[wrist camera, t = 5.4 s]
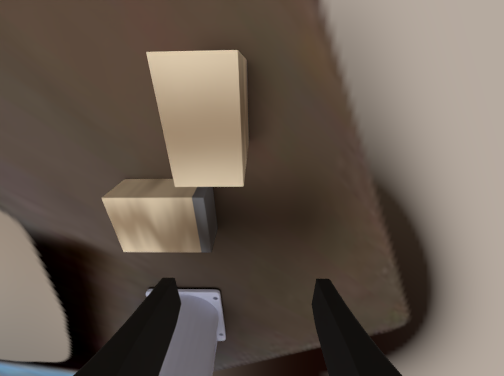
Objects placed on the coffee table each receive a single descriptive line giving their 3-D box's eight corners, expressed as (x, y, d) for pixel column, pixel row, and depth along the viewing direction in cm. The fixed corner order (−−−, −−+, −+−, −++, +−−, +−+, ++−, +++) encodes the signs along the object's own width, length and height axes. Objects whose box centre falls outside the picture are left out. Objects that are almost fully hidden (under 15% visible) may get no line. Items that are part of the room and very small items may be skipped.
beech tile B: (249, 140, 15) (243, 186, 9) (207, 141, 16) (175, 186, 9) (247, 60, 13) (237, 50, 7) (198, 61, 13) (146, 52, 7)
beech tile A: (211, 252, 17) (123, 252, 17) (217, 227, 19) (141, 227, 20) (203, 197, 14) (101, 197, 15) (211, 178, 17) (125, 178, 17)
